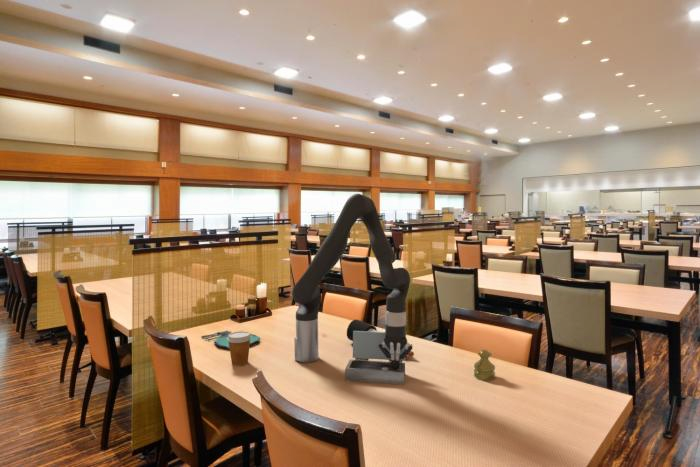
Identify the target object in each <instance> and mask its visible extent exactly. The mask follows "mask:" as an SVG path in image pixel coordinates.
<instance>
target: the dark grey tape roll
mask: <svg viewBox="0 0 700 467" xmlns="http://www.w3.org/2000/svg"><path fill="white" fill-rule="evenodd" d="M378 370H392V368H390V367H387V366H383V367H379V368H378Z"/></svg>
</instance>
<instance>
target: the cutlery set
mask: <svg viewBox="0 0 700 467" xmlns="http://www.w3.org/2000/svg"><path fill="white" fill-rule="evenodd" d="M230 333H232V331H228V330H225V331H216V332H214V333H212V334H205V335H201V336H200V337H201V339H204V340H207V342H210V341H211V340H214V341H213V343H214V344H215V345H216V346H218V347H220V348H225V349H226V348H227V349H229V350H230V348H229V342H228V340H227V338H228V335H229V334H230ZM250 335H251V339H250V346H251V345H254V344H255V343H257V342H261V337H260V336H258V335H256V334H252V333H250Z"/></svg>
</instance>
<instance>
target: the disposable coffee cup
mask: <svg viewBox="0 0 700 467" xmlns="http://www.w3.org/2000/svg"><path fill="white" fill-rule="evenodd" d="M250 334H251V333H250V331H245V330H241V331H239V330H238V331H232V332H231V333H230V334H228V338H227V340H228V342H229V348H230V349H229V352H230V359H231V360H230V361H231V365H232V366H233V367H234V366H235V367H241V366H245V365H247V364H248V363H249V354H250V346H251V345H250V339H251V335H250Z"/></svg>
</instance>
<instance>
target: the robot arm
mask: <svg viewBox="0 0 700 467" xmlns="http://www.w3.org/2000/svg"><path fill="white" fill-rule="evenodd" d="M358 219H359V220H361V221H362V223H363V225H364V226H365V228H366V230H367V233H368V237H369V244H370V249H371V251H372V253H373V255H374V257H375V259H376V262H377V263H378V269H379V270H378V271H379V275H380V278H381V282H382V284H383V285H384V286H385V287H386V288H387V289H390V290H391V289H392V291H391V293H389V294H388V295H387V296H386V300H385V309H386V310H385V320H384V324H385V326H384V327H385V330H384V331H385V338H384V341H383V342H380V343H379V345H378V347H379V348H380V349H381V351H382V352H383V353H384V355H385V356H386V357H387V358H390V359H391V367H392V368H393V370H397V369H399V360H400V359H404V358H405V359H406V357H407V356H408V355H407V354H408V353H409V352H410V351H412V350H413V348H414V347H413V343H412V344H411V343H409V342H408V339H407V313H406V311H407V310H406V306H407V304H406V301H407V300H406V299H407V296H408V292H409V288H410V284H411V276H410V273H409V271H408V270H407V269H406V268H405V267H395V268H394V265H393V263H394V262H396V260H397V255H396V254H395V253H396V252H394V250H393V247H392V245H391V244H390V242H389V240H388V237H387V235H386V233H385V231H384V228H383V225H382V223H381V220H380V217H379V213H378V210H377V208H376V204H375V202H374V201H373V199H372V198H370V197H368V196H366V195H365V194H364V195H363V194H360V193H354V194H352V195H350V196H349V197H348V198H347V200H346V202H345V203H344V205H343V207H342V209H341V212H340V213H339V215H338V217H337V220H336V221H335V223H334V224H333V226H332V228H331V229H330V231H329V233H328V235H327V236H326V238H325V239H324V240H323V241H322V243H321V244H320V247H319V248H318V250H317V252H316V254H315V255H314V257H313V259H312V260H311V262H310V263H309V265H308V267H307V269H306V270H305V272H304V273H303V274H302V275H301V276H300V278H299V279H298V280H297V282H296V283H295V284H294V286H293V288H292V299H293V300H294V302H295V303H297V304H299V305H298V308H297V310H296V312H295V337H294V361H296V362H300V363H306V364H307V363H314V362H316V361H317V360H319V312H320V307H321V306H320V304H321V303H320V302H321V300H320V298H321V290H320V286H319V284H320V283H321V281H322V280H323V278H324V277H325V276H326V275H327V274H328V273H330V271H331V270H332V269H333V268H334V267H335V266H336V265H337V264H338V262H339V261H340V259H341V258H342V256H343V255H344V253H345V251H346V250H347V249H346V248H347V246H348V241H349V235H350V232H351V229H352V227H353V226H354V224H355V223H356V222H357V220H358ZM385 344H386V345H387V347H388V348H389V349H390V351H391V354H390V353H389V352H388V350H387V349H386V348H385ZM405 345H406V350H405V351H404V352H403V353H402V354H401V355H400V351H401V350H402V349H403V348H404V346H405ZM395 351H396V358H395Z"/></svg>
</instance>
